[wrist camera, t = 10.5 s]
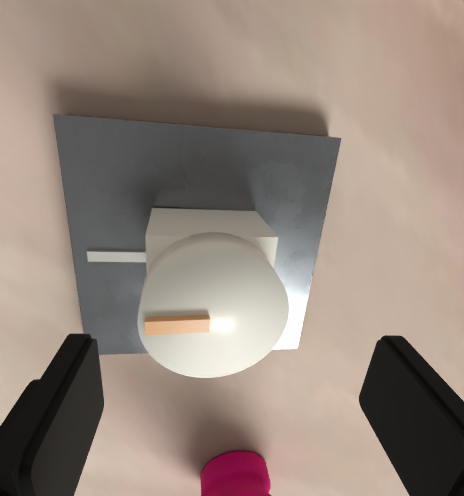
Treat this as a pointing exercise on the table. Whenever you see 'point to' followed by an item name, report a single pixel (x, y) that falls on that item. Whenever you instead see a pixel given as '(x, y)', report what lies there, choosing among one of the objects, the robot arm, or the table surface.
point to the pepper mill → (235, 475)
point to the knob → (210, 291)
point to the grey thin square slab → (183, 206)
